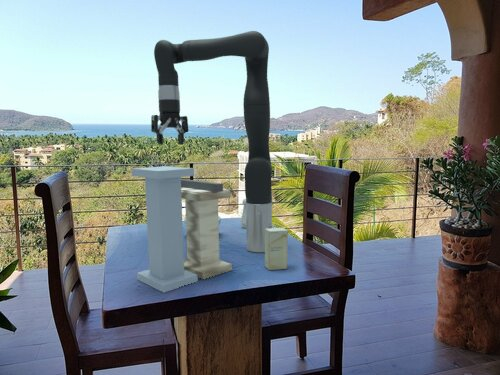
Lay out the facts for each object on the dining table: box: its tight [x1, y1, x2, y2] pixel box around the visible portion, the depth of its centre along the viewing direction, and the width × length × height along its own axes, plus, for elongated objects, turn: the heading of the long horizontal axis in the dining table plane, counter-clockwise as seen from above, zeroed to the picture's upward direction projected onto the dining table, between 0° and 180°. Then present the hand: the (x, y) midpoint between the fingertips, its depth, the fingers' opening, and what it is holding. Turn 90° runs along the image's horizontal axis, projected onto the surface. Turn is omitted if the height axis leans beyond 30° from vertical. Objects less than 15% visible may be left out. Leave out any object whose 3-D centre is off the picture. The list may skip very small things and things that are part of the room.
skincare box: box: [264, 227, 289, 271], centre depth 120 cm, size 6×4×12 cm
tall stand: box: [131, 165, 198, 294], centre depth 109 cm, size 14×11×32 cm
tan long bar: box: [181, 178, 224, 192], centre depth 119 cm, size 26×2×2 cm, turn 44°
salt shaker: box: [240, 198, 246, 229], centre depth 174 cm, size 6×6×13 cm
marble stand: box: [181, 187, 233, 280], centre depth 118 cm, size 14×11×25 cm
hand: (170, 144), depth 142 cm, fingers open, 8 cm apart
